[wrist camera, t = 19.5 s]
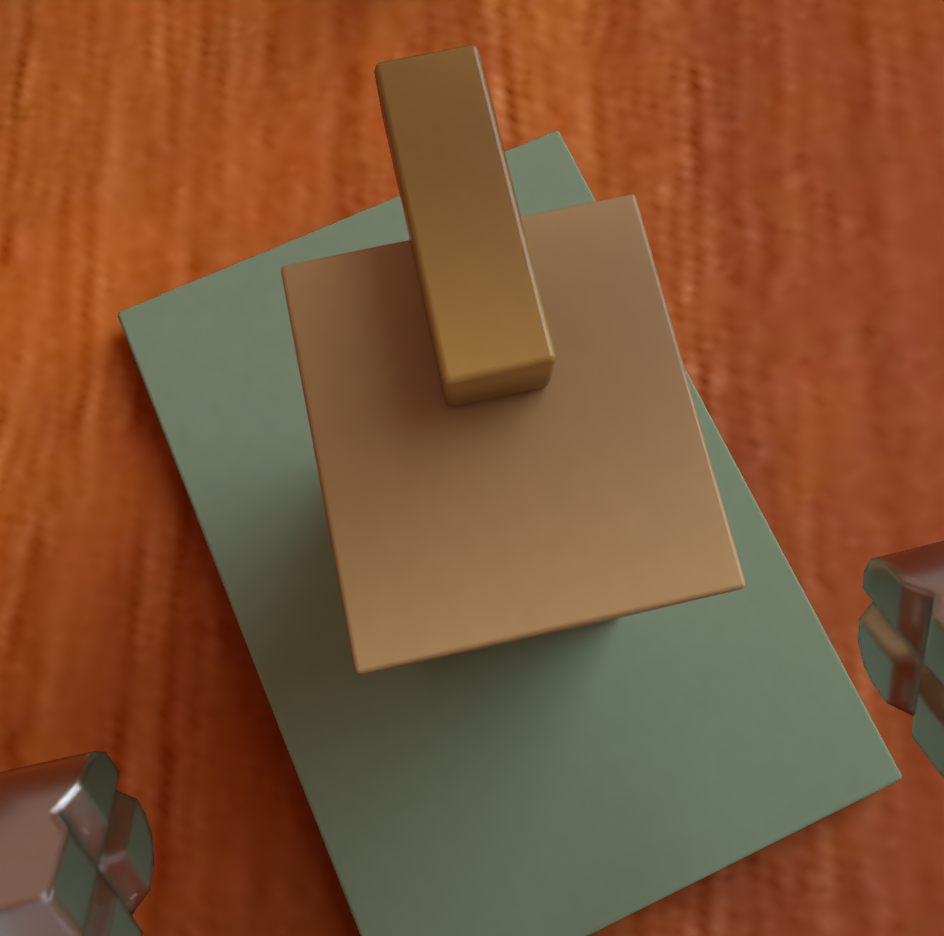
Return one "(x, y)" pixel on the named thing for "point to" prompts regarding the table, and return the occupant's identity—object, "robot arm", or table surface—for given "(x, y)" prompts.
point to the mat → (496, 659)
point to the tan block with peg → (498, 402)
